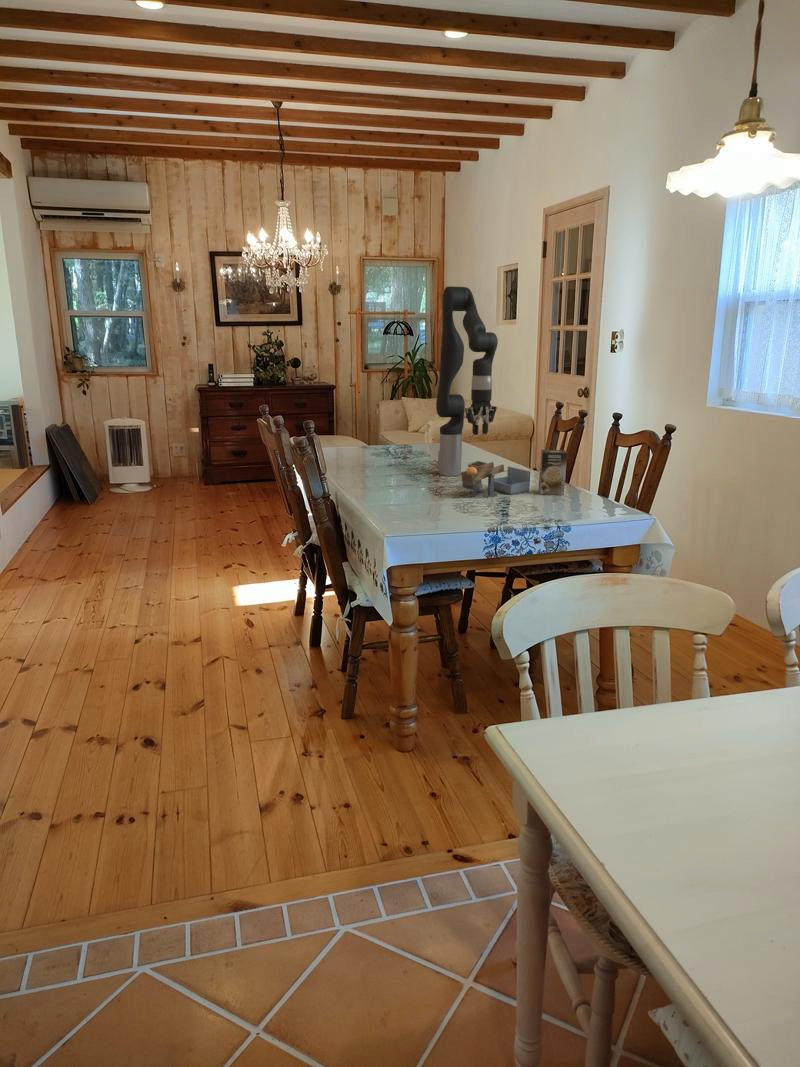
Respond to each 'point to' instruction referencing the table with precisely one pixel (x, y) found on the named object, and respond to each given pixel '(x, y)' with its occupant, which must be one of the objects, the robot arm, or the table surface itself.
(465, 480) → the lever chute
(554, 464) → the coffee box
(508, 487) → the bin
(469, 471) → the ball
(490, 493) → the lever stand
